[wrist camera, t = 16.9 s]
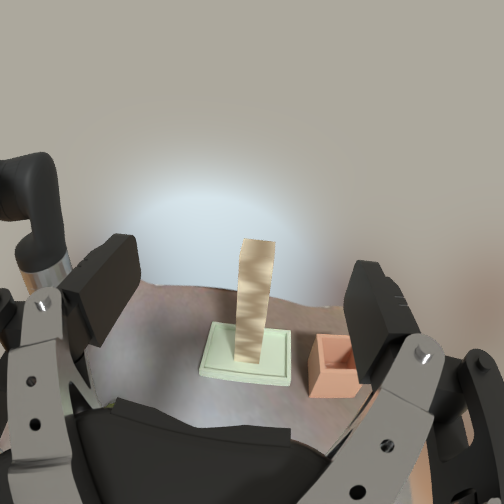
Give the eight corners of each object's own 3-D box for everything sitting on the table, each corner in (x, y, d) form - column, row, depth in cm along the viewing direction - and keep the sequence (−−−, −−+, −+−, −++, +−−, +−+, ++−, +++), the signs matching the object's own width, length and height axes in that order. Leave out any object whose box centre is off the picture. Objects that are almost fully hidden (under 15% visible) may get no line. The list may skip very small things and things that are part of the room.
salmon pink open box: (309, 397, 38) (320, 372, 34) (307, 361, 44) (316, 333, 41) (353, 397, 37) (370, 372, 34) (348, 362, 44) (361, 335, 40)
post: (234, 361, 42) (239, 254, 32) (237, 343, 46) (243, 238, 36) (258, 364, 42) (274, 258, 32) (260, 345, 46) (275, 241, 36)
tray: (199, 375, 40) (199, 370, 39) (212, 327, 50) (212, 321, 49) (289, 386, 40) (290, 380, 39) (289, 336, 49) (290, 330, 48)
